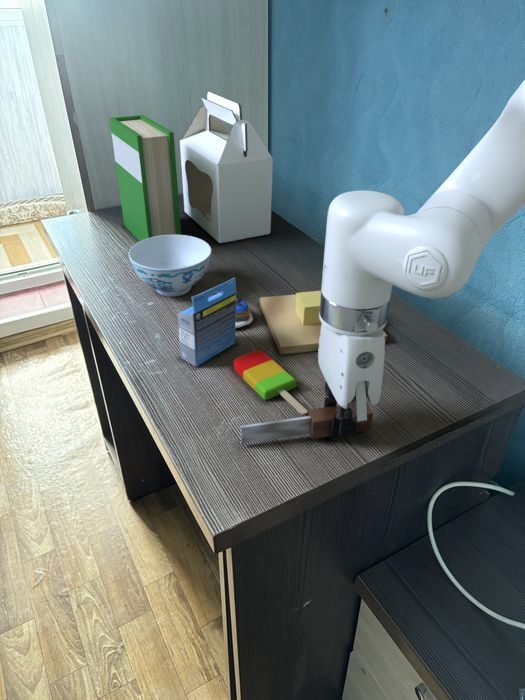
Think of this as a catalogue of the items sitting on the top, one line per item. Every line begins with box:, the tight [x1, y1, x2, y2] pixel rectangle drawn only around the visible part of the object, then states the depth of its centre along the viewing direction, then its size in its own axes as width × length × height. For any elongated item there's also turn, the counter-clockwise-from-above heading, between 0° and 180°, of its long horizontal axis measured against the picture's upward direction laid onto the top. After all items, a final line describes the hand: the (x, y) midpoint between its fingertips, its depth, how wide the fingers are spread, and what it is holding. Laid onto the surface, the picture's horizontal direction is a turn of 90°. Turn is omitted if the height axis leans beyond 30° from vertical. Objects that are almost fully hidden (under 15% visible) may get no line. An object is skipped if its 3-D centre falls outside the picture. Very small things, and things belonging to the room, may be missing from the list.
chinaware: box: [128, 234, 212, 297], centre depth 97 cm, size 15×15×8 cm
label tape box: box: [177, 277, 237, 368], centre depth 79 cm, size 9×4×12 cm, turn 139°
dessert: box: [235, 297, 254, 329], centre depth 90 cm, size 8×7×6 cm
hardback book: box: [108, 114, 182, 242], centre depth 113 cm, size 18×7×24 cm, turn 30°
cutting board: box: [259, 293, 388, 356], centre depth 90 cm, size 18×16×2 cm
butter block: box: [295, 290, 321, 325], centre depth 88 cm, size 7×5×4 cm
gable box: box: [179, 91, 274, 244], centre depth 119 cm, size 22×13×28 cm, turn 28°
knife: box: [240, 401, 374, 445], centre depth 66 cm, size 17×2×3 cm, turn 102°
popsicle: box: [233, 350, 308, 416], centre depth 75 cm, size 6×15×2 cm, turn 34°
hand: (338, 427), depth 68 cm, fingers closed on knife, 2 cm apart
